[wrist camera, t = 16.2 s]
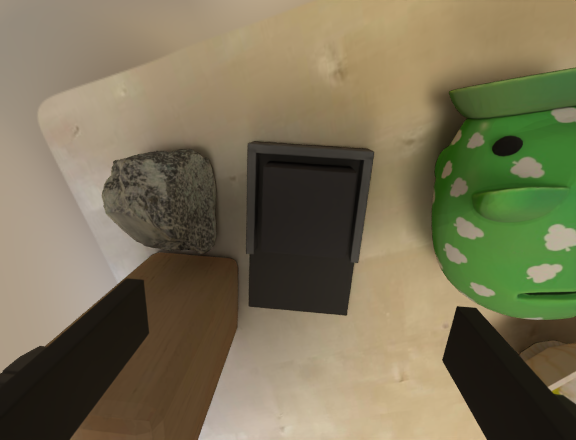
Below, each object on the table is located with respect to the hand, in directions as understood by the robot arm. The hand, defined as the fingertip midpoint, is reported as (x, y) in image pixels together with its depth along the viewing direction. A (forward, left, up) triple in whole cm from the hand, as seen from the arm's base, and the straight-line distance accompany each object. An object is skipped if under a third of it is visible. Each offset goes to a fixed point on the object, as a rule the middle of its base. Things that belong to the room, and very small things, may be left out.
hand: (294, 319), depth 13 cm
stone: (-13, 0, -20) cm, 24 cm away
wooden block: (-12, -12, -20) cm, 26 cm away
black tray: (0, -4, -20) cm, 20 cm away
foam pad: (0, 0, -19) cm, 19 cm away
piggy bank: (+17, +3, -20) cm, 27 cm away
